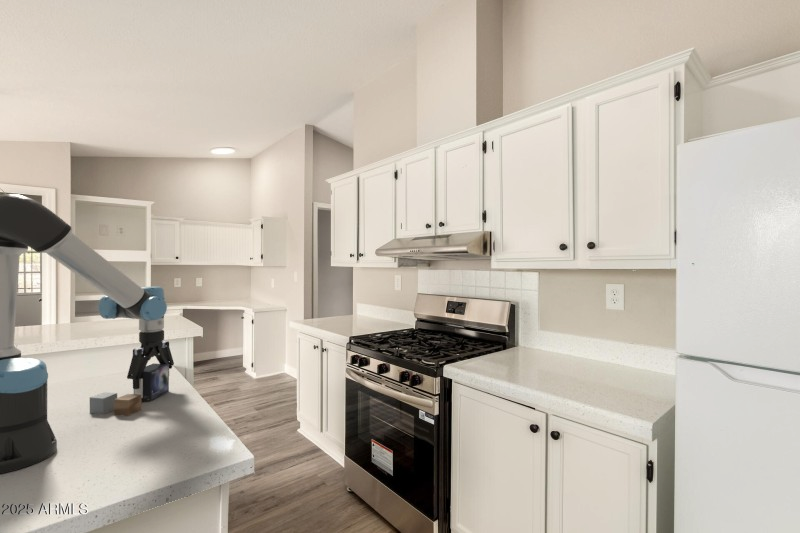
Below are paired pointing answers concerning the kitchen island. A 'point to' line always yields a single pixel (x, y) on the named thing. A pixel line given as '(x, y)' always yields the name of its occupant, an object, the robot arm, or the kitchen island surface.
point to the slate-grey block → (102, 403)
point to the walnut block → (127, 404)
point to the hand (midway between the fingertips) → (152, 392)
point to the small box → (155, 381)
